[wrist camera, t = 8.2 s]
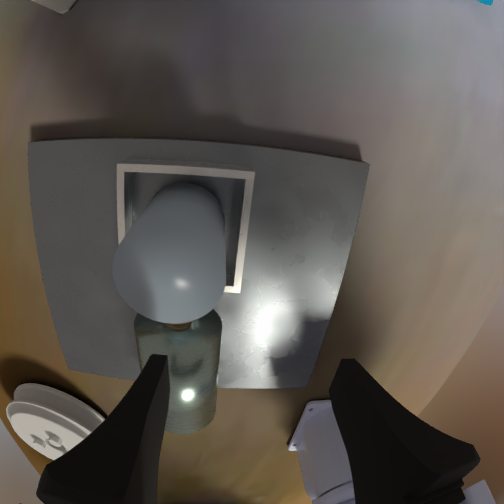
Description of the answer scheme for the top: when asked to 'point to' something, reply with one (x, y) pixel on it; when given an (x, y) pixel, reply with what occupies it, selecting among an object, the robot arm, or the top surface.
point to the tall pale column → (57, 5)
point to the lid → (50, 419)
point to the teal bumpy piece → (486, 2)
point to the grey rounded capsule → (174, 256)
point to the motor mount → (236, 250)
